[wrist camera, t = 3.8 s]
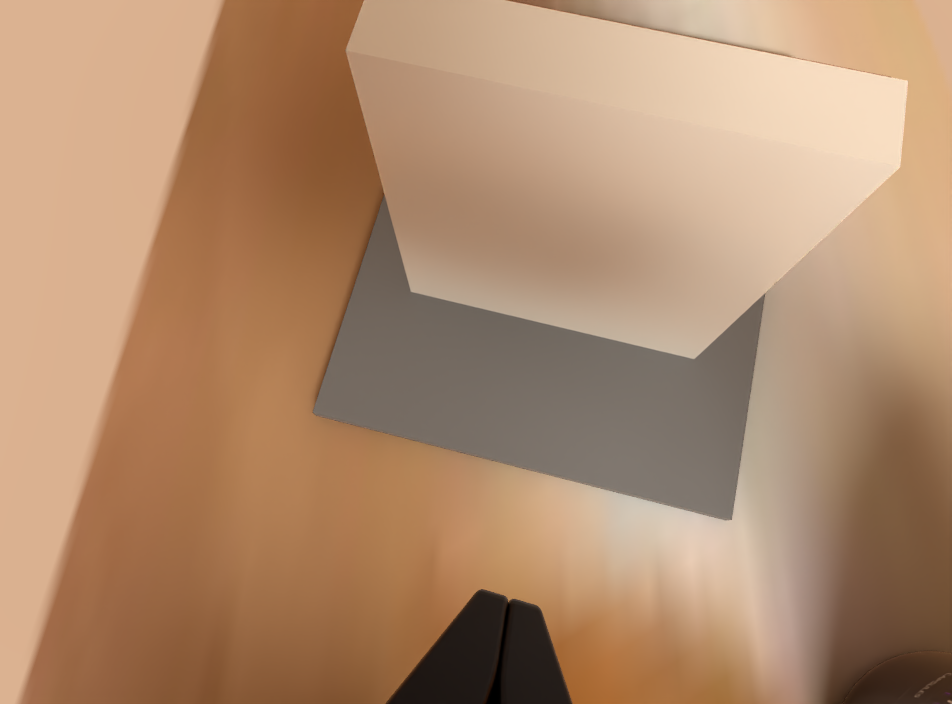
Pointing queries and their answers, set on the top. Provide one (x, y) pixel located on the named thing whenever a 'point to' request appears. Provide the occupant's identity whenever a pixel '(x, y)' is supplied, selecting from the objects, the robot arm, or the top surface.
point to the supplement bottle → (907, 680)
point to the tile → (609, 163)
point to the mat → (541, 390)
